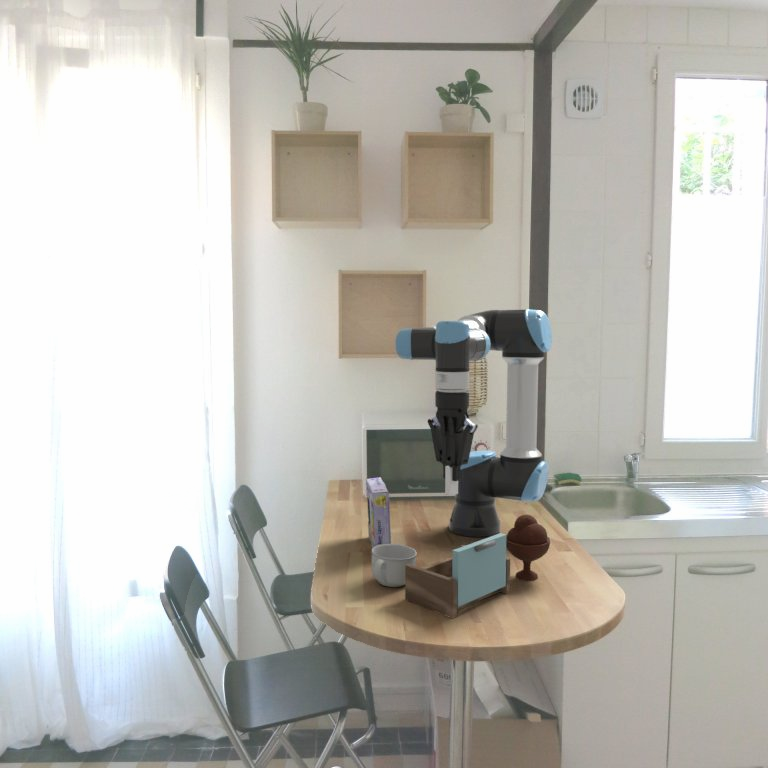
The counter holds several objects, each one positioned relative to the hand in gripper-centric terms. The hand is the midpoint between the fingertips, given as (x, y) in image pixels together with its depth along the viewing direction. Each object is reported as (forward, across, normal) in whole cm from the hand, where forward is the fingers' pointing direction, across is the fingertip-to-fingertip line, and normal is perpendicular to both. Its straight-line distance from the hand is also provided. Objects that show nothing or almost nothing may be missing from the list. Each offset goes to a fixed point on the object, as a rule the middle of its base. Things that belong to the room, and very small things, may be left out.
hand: (451, 494), depth 162 cm
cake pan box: (+23, -36, +12) cm, 45 cm away
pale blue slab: (+21, +9, 0) cm, 23 cm away
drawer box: (+23, +1, 0) cm, 23 cm away
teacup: (+24, -14, -6) cm, 28 cm away
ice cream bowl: (+23, +6, +21) cm, 32 cm away
